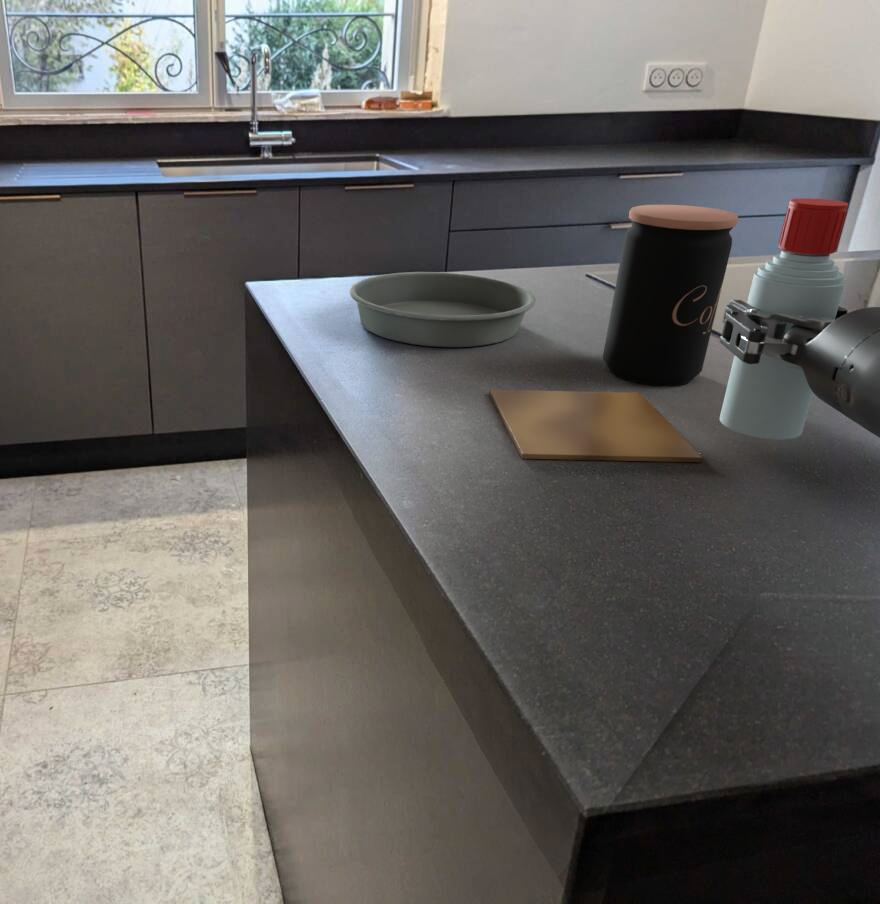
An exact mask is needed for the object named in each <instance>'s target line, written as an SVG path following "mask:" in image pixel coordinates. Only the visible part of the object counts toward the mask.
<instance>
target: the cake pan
mask: <svg viewBox="0 0 880 904" xmlns="http://www.w3.org/2000/svg"><path fill="white" fill-rule="evenodd" d="M348 293H349V295H350V297H351V298H352V300H353V301H354V302H356V304H357V305H356V306H357V310H358V315H359V316H358V317H359V322H360V324H361V325H362V327H363V328H364V329H366V330H367V331H368V332H370V333H372V334H374V335H376V336H379V337H381V338H385V339H387V340H391V341H395V342H399V343H403V344H409V345H416V346H423V347H435V348H472V347H482V346H488V345H493V344H497V343H501V342H504V341H507V340H509V339H511V338H513V337H514V336H515V335H516V334H517V333H518V332H519V330H520V327H521V325H522V322H523V320H524V316H525V314H526V312H528V311H530V310H531V309H532V308H534V306H535V304H536V301H537V299H536V295H534V293H532V292H531V291H530V290H528V289H526V288H525V287H523V286H521V285H519V284H516V283H513V282H510V281H507V280H502V279H497V278H492V277H489V276H488V277H487V276H481V275H476V274H475V275H474V274H465V273H457V272H441V271H440V272H439V271H438V272H437V271H411V272H407V271H406V272H396V273H395V272H394V273H387V274H379V275H374V276H371V277H370V276H369V277H367V278H364V279H361V280H358V281H357V282H355V283H354V284H352V285H351V287H350V288H349V292H348Z"/></svg>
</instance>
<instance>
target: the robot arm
mask: <svg viewBox="0 0 880 904" xmlns="http://www.w3.org/2000/svg"><path fill="white" fill-rule="evenodd" d="M760 321H761V322H765V323H766V324H767V327H765V326H759V325H760ZM787 323H791V324H795V325H793V326H792V327H791V328H790V329H789V330H788V332H787V333H786V334H785V336H784V333H785V329H786V325H787ZM722 324H723V326H722V332H721V334H720V337H719V343H720V344H721V345H722V346H723V347H725V348H726V349H727V350H728V351H729V352H731V353H732V355H734V356H737V357H738V358H739V359H740V360H741V361H743V362H745V363H747V364H758V363H759V361H760V357H761V354H765V355H767V356H771V357H774V358H777V359H781V360H784V361H786V362H788V363H792V364H794V366H795V367H797V368H799V369H802V370H803V372H804V375H805V377H806V380H807V382H808V385H809V387H810V389H811V390H812V392H813V393H814V394H813V395H815V396H816V397H817V398H818V399H819V400H820V401H822V402H824V403H825V404H827V405H828V406H830V407H831V408H832V409H835V411H837V412H839V413H840V414H842V415H843V416H845V417H846V418H848V419H849V420H851V421H853V422H854V423H855V424H857V425H859V426H860V427H861V428H863V429H865V430H866V431H868V432H869V433H871V434H873V435H874V436H876V437H878V438H880V306H870V307H862V308H858V309H856V308H855V309H846V308H845V307H842V306H840V305H839V307H838V310H837V314H836V317H835V320H834V319H830V318H826V317H822V316H819V317H814V318H812V317H808V316H804V315H800V314H796V313H793V312H789V311H781V312H776V313H772V314H770V313H767V312H763V311H760V310H758V309H756V308H755V307H753V306H751V305H749V304H747V302H745V301H743V300H742V299H731V300H730V301H729V303H728V304H726V305H725V310H724V314H723V318H722ZM783 336H784V337H783Z"/></svg>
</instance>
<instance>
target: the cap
mask: <svg viewBox="0 0 880 904" xmlns="http://www.w3.org/2000/svg"><path fill="white" fill-rule="evenodd" d="M788 203H789V204H788V207H787V208H786V212H785V216H784V220H783V224H782V227H781V232H780V235H779V240H778V248H779V249H780V250H781V251H782V250H784V251H788V252H793V253H801V254H813V255H825V254H830V255H832V254H835V253H836V250H838V246H839V243H840V239H841V234H842V232H843V228H844V225H845V221H846V217H847V214H848V207H849V203H848V202H845V201H841V200H836V199H828V198H827V199H826V198H810V197H809V198H805V197H803V198H792V199H790V200H789V202H788Z"/></svg>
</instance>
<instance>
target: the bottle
mask: <svg viewBox="0 0 880 904" xmlns="http://www.w3.org/2000/svg"><path fill="white" fill-rule="evenodd" d="M830 256H831V254H825V255H813V254H801V253H793V252H788V251H784V250H782V249H781V251H780V253H778V254H775V255H774V256H773V259H768V260H766V262H765V264H762V265H760V266H759V267H758V269H757V271H755V272H754V273H753V277H752V281H751V286H750V290H749V293H748V298H747V301H746V303H747V304H749V305H751V306H753V307H755V308H756V309H758V310H760V311H763V312H767V313H770V314H772V313H776V312H781V311H789V312H793V313H796V314H800V315H804V316H808V317H812V318H814V317H819V316H822V317H826V318H830V319H834V320H835V317H836V314H837V310H838V307H839V306H840V304H841V300H842V296H843V292H844V289H845V285H846V281H845V279H844V278H845V274H843V273H842V272H840V267H838V265H835V260H834V259H831V258H830ZM793 325H795V324H791V323H787V325H786V329H785V333H784V336H785V334H786V333H787V332H788V330H789V329H790V328H791V327H792V326H793ZM759 326H765V327H767V324H766V323H765V322H761V321H760V325H759ZM784 336H783V337H784ZM814 395H815V394H814V393H813V392H812V390H811V389H810V387H809V385H808V382H807V380H806V377H805V375H804V372H803V370H802V369H799V368H797V367H795V366H794V364H792V363H788V362H786V361H784V360H781V359H777V358H774V357H771V356H767V355H765V354H761V357H760V361H759V363H758V364H747V363H745V362H743V361H741V360H740V359H739V358H738V357H737V356H735V355H734V356H733V360H732V364H731V369H730V373H729V377H728V382H727V385H726V389H725V394H724V398H723V402H722V405H721V406H722V407H721V411H720V415H719V421H720V423H721V425H723V426H724V427H726V428H727V429H730V430H731V431H733V432H736V433H739V434H742V435H745V436H748V437H753V438H759V439H764V440H772V441H773V440H775V441H782V440H783V441H784V440H785V441H786V440H793V439H797V438H799V437H801V435H802V434H803V432H804V428H805V425H806V421H807V418H808V414H809V411H810V408H811V404H812V400H813V397H814Z"/></svg>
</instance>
